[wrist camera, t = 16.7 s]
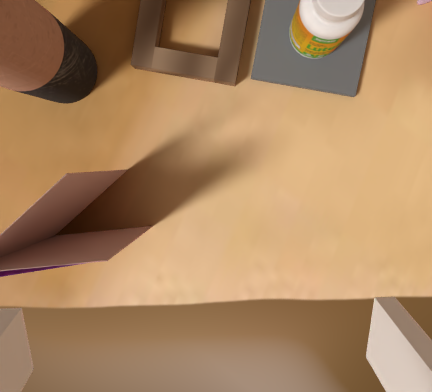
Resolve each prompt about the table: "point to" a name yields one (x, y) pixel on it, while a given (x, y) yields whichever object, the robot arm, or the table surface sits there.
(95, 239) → the greeting card
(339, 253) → the table surface
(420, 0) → the pink patterned figure
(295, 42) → the supplement bottle
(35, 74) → the travel mug
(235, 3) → the brown flat square frame
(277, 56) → the slate pad
